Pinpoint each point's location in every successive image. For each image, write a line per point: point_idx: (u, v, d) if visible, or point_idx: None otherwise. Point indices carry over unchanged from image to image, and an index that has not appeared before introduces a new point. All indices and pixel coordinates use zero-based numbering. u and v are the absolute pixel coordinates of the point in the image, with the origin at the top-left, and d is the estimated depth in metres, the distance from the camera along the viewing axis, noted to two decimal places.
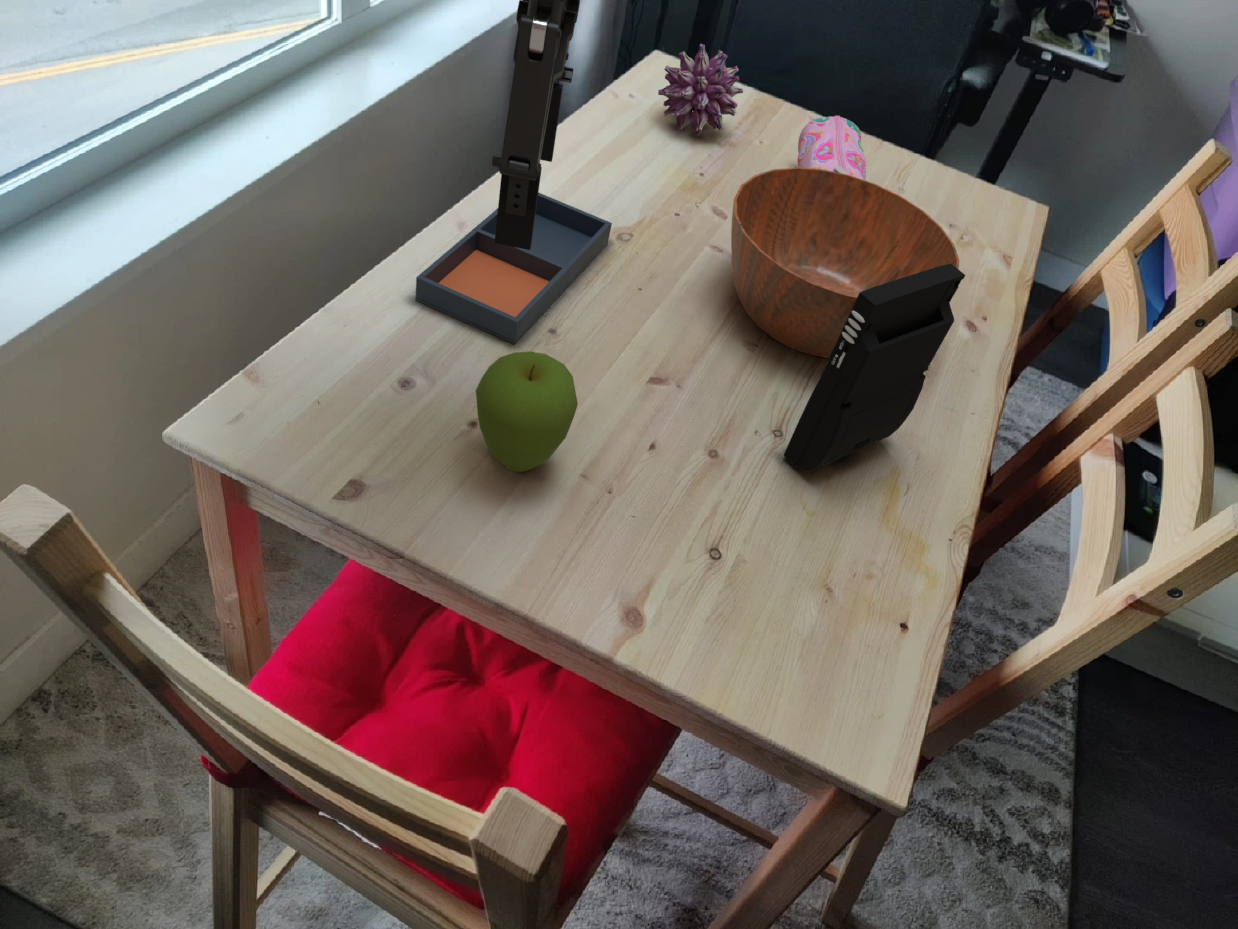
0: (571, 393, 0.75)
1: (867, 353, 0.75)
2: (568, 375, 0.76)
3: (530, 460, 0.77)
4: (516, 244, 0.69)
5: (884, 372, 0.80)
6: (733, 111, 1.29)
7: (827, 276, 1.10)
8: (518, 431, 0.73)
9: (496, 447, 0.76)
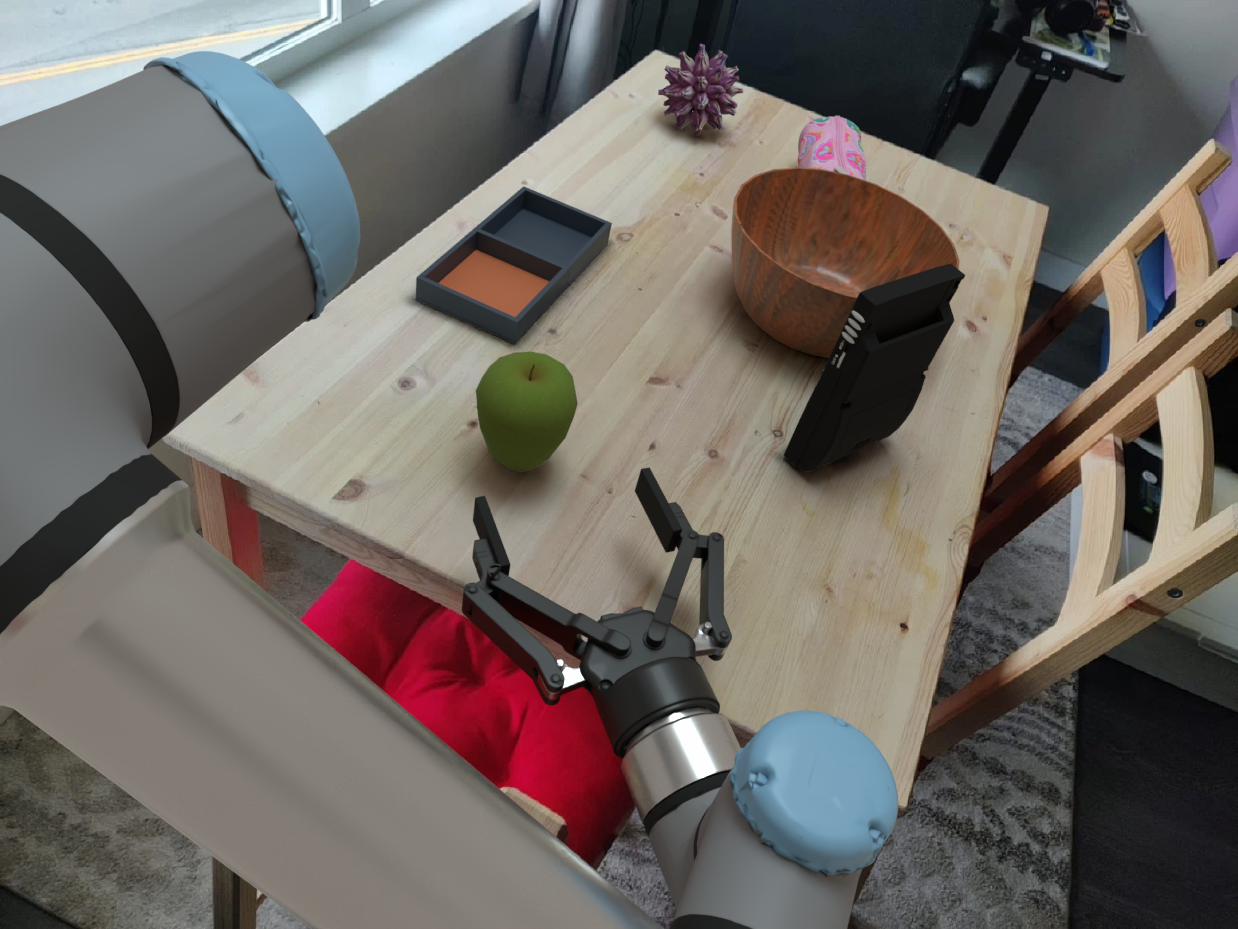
0: (571, 393, 0.75)
1: (867, 353, 0.75)
2: (568, 375, 0.76)
3: (530, 460, 0.77)
4: (474, 513, 0.69)
5: (884, 372, 0.80)
6: (733, 111, 1.29)
7: (827, 276, 1.10)
8: (518, 431, 0.73)
9: (496, 447, 0.76)
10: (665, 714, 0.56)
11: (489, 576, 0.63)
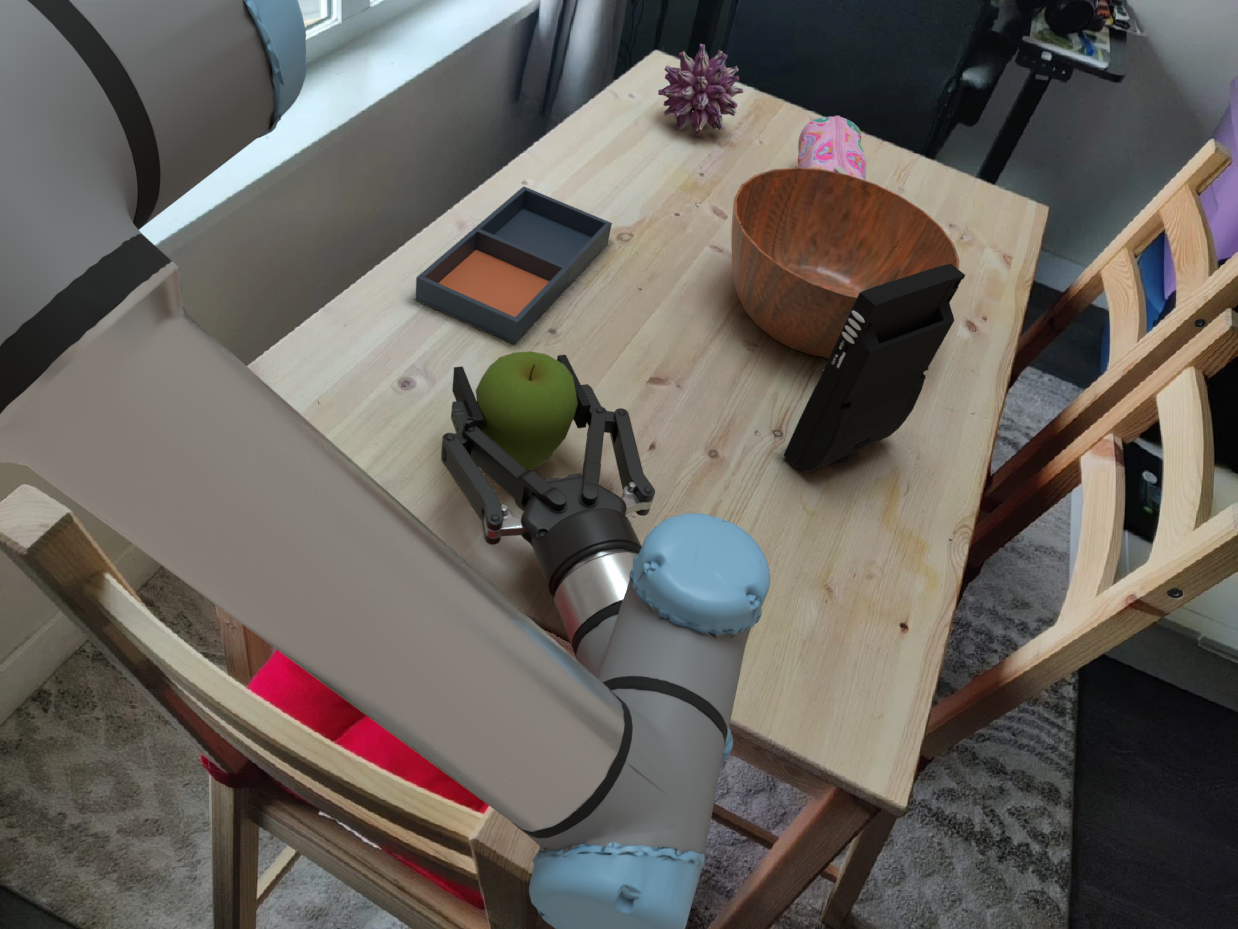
0: (572, 393, 0.75)
1: (867, 353, 0.75)
2: (568, 375, 0.76)
3: (530, 460, 0.77)
4: (453, 383, 0.78)
5: (884, 372, 0.80)
6: (733, 111, 1.29)
7: (827, 276, 1.10)
8: (518, 431, 0.73)
9: None
10: (592, 552, 0.64)
11: (463, 425, 0.72)
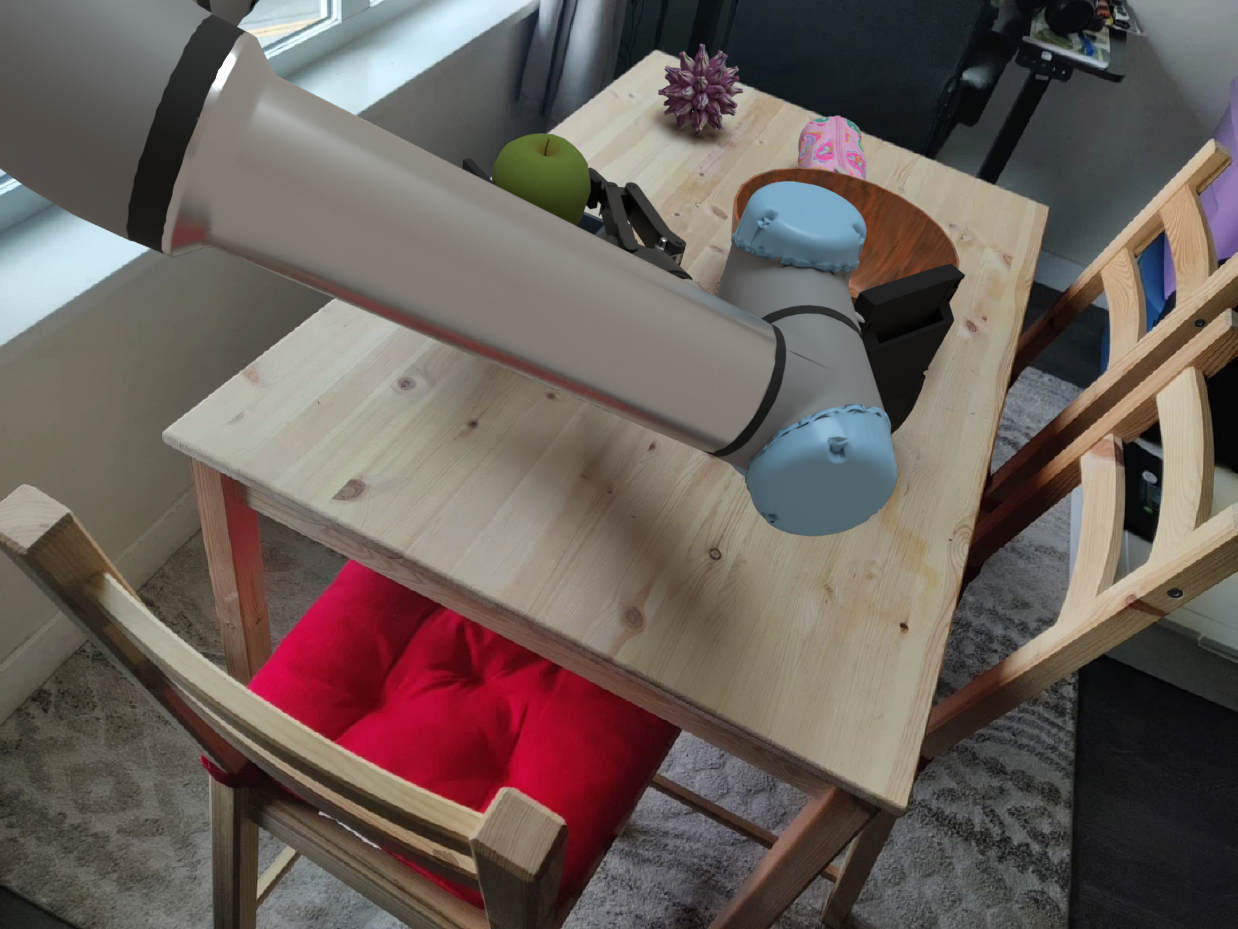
0: (586, 166, 0.77)
1: (867, 353, 0.75)
2: (578, 151, 0.77)
3: None
4: None
5: (884, 372, 0.80)
6: (733, 111, 1.29)
7: None
8: (545, 205, 0.75)
9: None
10: None
11: None
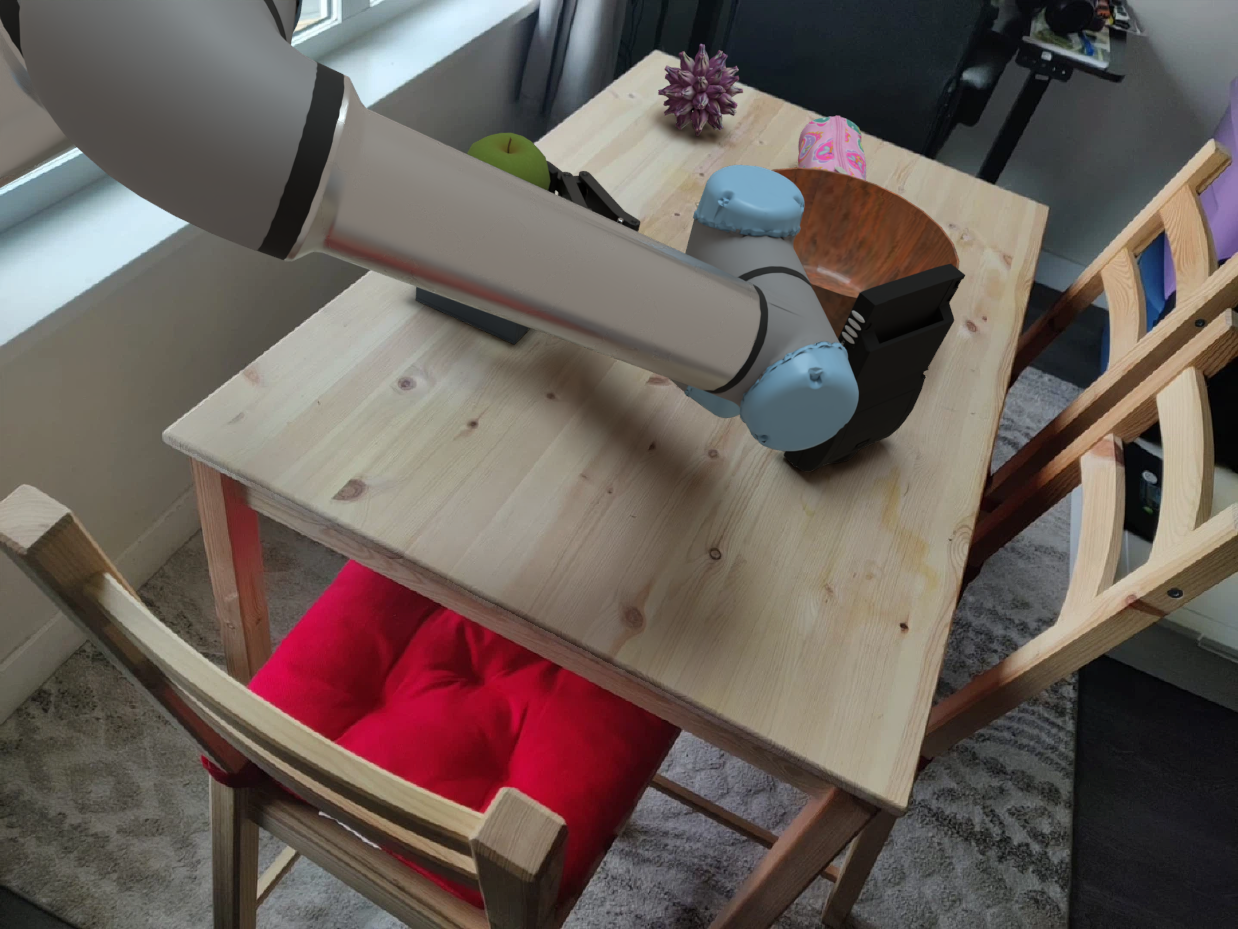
0: (545, 159, 0.87)
1: (867, 353, 0.75)
2: None
3: None
4: None
5: (884, 372, 0.80)
6: (733, 111, 1.29)
7: (827, 276, 1.10)
8: None
9: None
10: None
11: None
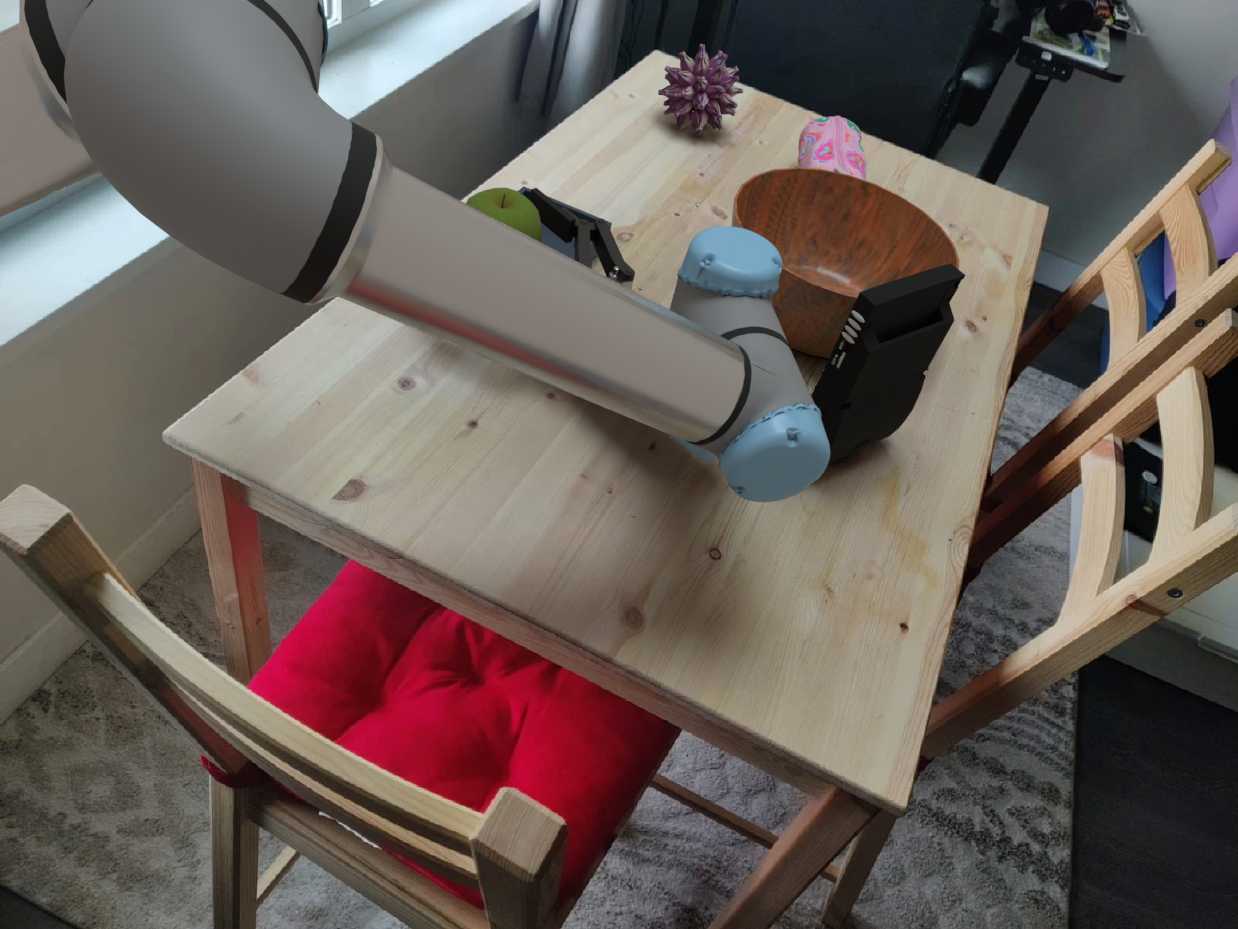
0: (538, 213, 0.91)
1: (867, 353, 0.75)
2: (529, 200, 0.91)
3: None
4: None
5: (884, 372, 0.80)
6: (733, 111, 1.29)
7: (827, 276, 1.10)
8: None
9: None
10: None
11: None
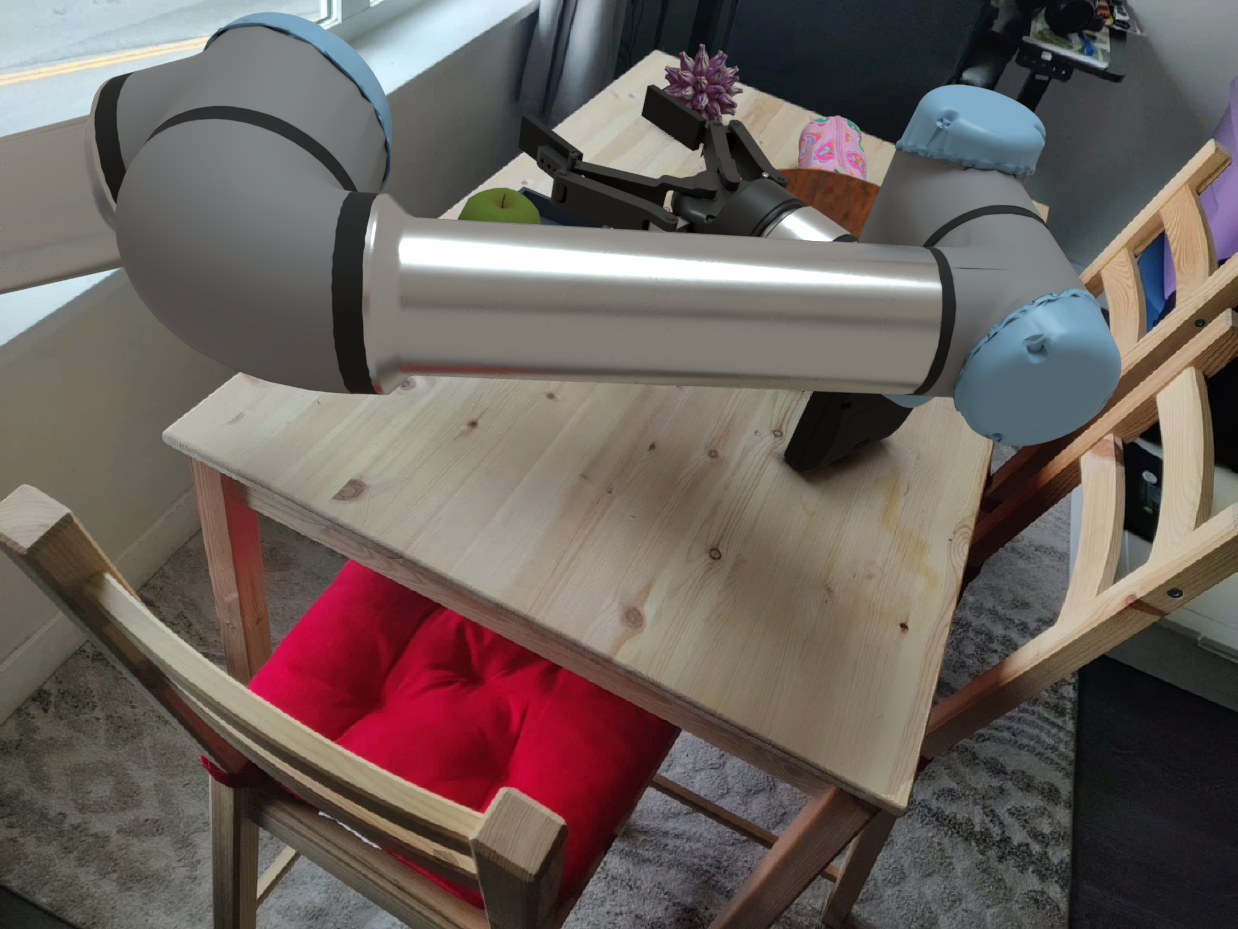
0: (538, 213, 0.91)
1: None
2: (529, 200, 0.91)
3: None
4: (521, 136, 0.71)
5: None
6: (733, 111, 1.29)
7: None
8: None
9: None
10: (778, 212, 0.64)
11: (573, 159, 0.66)
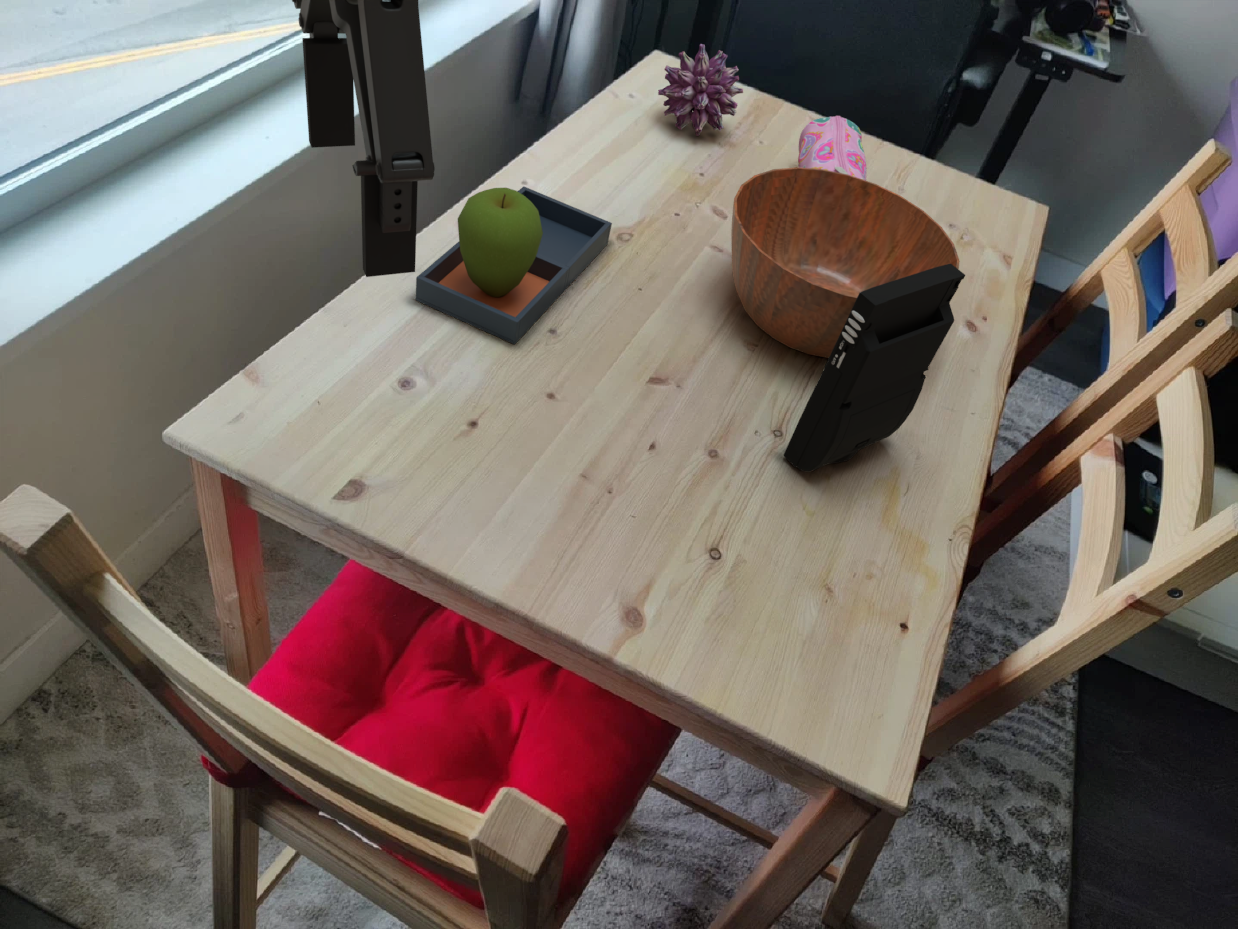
0: (538, 213, 0.91)
1: (867, 353, 0.75)
2: (529, 200, 0.91)
3: (514, 279, 0.93)
4: (396, 270, 0.50)
5: (884, 372, 0.80)
6: (733, 111, 1.29)
7: (827, 276, 1.10)
8: (507, 250, 0.88)
9: (486, 273, 0.91)
10: None
11: (360, 163, 0.44)
